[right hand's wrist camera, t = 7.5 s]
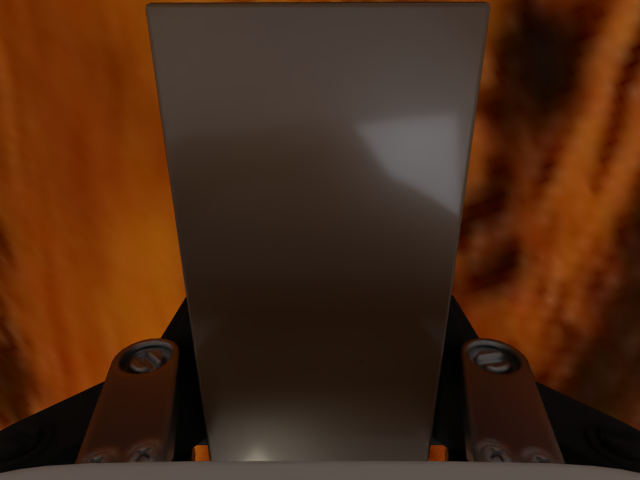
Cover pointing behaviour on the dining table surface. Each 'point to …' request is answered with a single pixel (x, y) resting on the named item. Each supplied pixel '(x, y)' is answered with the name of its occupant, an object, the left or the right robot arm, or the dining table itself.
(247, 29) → the beam
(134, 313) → the dining table surface
